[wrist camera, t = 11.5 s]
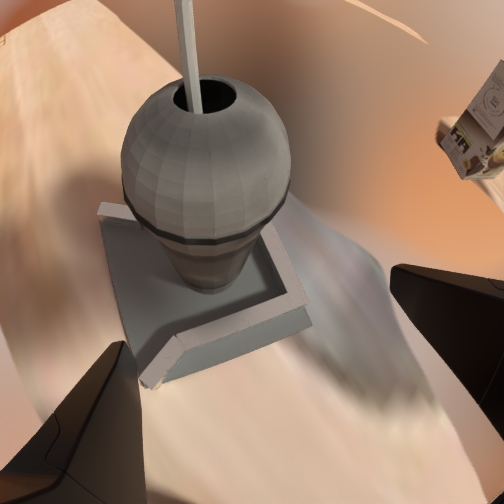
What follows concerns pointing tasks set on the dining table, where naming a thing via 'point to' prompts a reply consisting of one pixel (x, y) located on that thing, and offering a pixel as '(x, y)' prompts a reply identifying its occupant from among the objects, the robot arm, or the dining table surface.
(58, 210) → the dining table surface
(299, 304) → the flared docking tray
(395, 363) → the dining table surface
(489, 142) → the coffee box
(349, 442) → the dining table surface
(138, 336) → the gray raised edge tray
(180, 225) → the beverage cup
